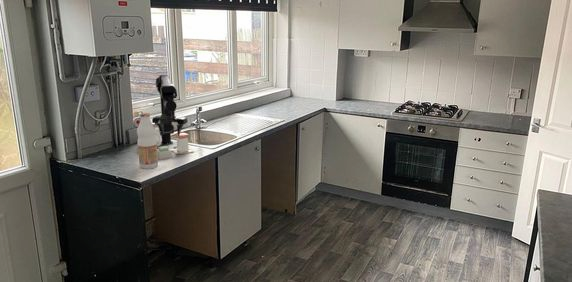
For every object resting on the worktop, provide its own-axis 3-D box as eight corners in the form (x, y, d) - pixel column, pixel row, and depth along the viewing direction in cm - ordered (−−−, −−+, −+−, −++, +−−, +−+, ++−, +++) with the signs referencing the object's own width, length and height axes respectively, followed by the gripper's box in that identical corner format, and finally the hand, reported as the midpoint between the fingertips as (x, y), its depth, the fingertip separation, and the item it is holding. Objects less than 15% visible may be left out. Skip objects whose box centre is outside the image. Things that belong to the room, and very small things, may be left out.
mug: (167, 145, 259) (165, 129, 256) (155, 149, 253) (152, 132, 250) (156, 142, 267) (154, 126, 264) (144, 146, 261) (142, 129, 258)
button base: (155, 156, 241) (155, 149, 240) (167, 154, 245) (167, 147, 244) (160, 159, 236) (159, 152, 235) (172, 157, 240) (171, 150, 239)
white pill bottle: (176, 150, 250) (175, 133, 248) (185, 148, 253) (184, 132, 251) (180, 152, 246) (179, 135, 244) (188, 151, 249) (188, 134, 247)
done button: (158, 151, 240) (158, 147, 240) (165, 150, 243) (165, 145, 242) (161, 153, 237) (161, 148, 236) (168, 151, 239) (168, 147, 239)
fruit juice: (137, 169, 220) (132, 115, 213) (142, 163, 229) (138, 112, 222) (155, 169, 220) (151, 115, 213) (160, 163, 229) (156, 112, 222)
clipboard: (169, 150, 254) (169, 147, 253) (185, 147, 259) (185, 144, 259) (177, 155, 244) (177, 152, 244) (193, 152, 250) (193, 149, 249)
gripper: (146, 109, 231) (148, 137, 235) (178, 111, 228) (180, 139, 232) (156, 106, 242) (157, 133, 246) (187, 107, 238) (188, 134, 242)
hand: (170, 135), depth 241 cm, fingers open, 9 cm apart
